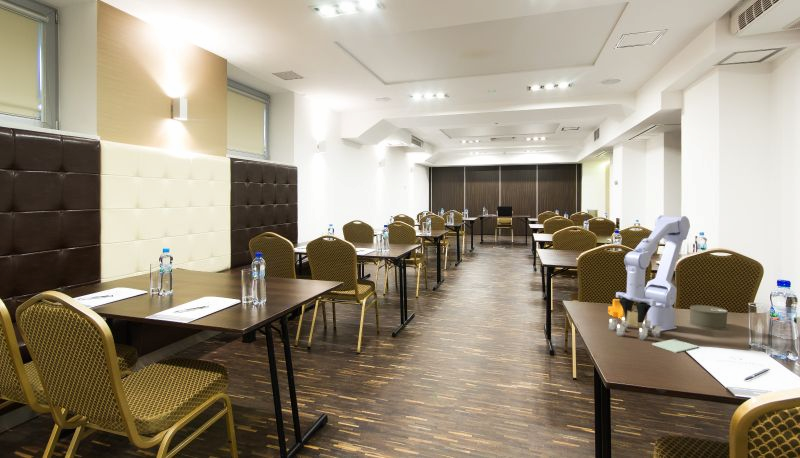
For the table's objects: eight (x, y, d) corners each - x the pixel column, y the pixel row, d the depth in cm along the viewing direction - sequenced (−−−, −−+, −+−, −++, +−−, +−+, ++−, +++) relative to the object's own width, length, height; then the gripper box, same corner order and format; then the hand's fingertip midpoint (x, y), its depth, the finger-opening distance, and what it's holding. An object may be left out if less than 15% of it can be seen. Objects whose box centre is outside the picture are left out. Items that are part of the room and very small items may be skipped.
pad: (674, 340, 142) (674, 339, 142) (698, 347, 135) (698, 346, 135) (651, 344, 138) (651, 343, 138) (675, 352, 130) (675, 351, 130)
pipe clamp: (607, 313, 178) (608, 298, 177) (618, 313, 177) (619, 299, 177) (617, 321, 166) (618, 305, 166) (629, 321, 165) (629, 306, 165)
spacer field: (630, 324, 160) (631, 314, 160) (668, 336, 147) (668, 325, 146) (600, 330, 153) (601, 319, 153) (637, 342, 140) (637, 330, 140)
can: (688, 319, 168) (689, 303, 168) (725, 324, 162) (726, 307, 161) (689, 326, 159) (690, 309, 158) (728, 332, 152) (729, 314, 151)
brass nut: (633, 321, 153) (633, 308, 153) (644, 325, 149) (645, 311, 149) (624, 323, 151) (624, 310, 151) (635, 326, 147) (635, 313, 147)
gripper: (610, 281, 154) (609, 316, 155) (647, 289, 141) (645, 327, 142) (623, 280, 157) (622, 314, 158) (660, 287, 144) (659, 324, 144)
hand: (634, 320), depth 150 cm, fingers closed on brass nut, 4 cm apart
